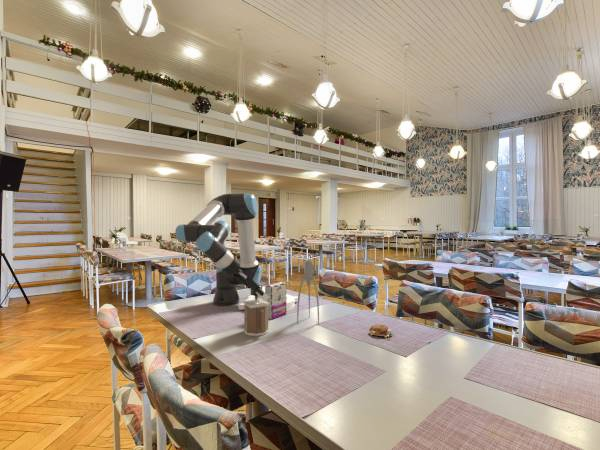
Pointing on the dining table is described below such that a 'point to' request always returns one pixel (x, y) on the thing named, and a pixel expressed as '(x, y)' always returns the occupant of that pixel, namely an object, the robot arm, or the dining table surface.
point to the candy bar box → (276, 299)
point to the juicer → (308, 277)
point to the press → (256, 317)
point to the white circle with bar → (289, 301)
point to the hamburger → (380, 330)
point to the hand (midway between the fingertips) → (264, 297)
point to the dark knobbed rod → (255, 294)
